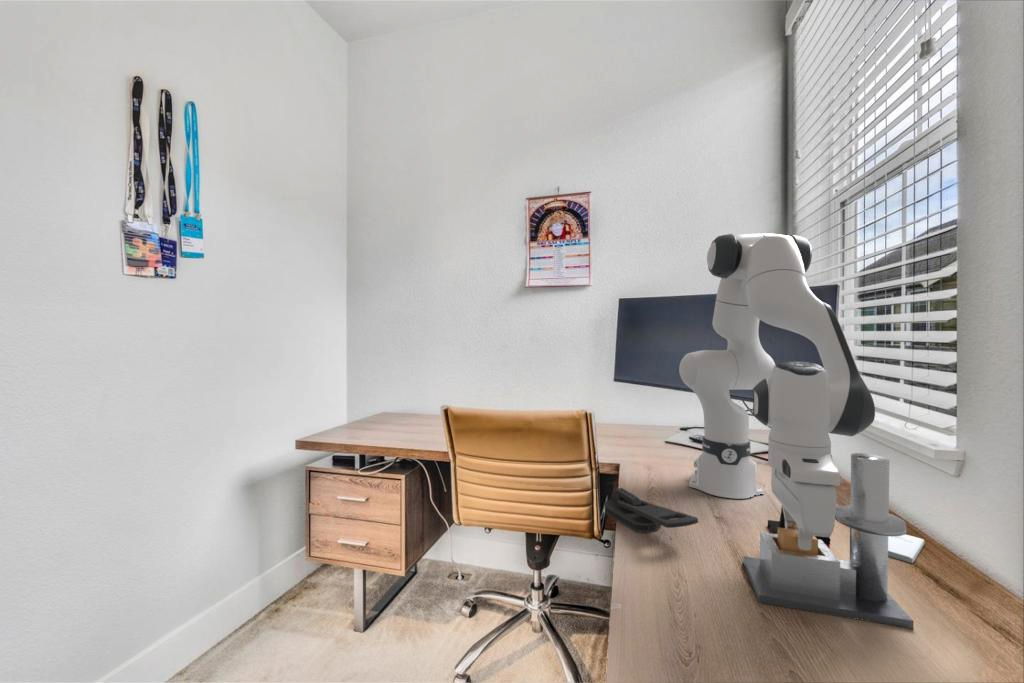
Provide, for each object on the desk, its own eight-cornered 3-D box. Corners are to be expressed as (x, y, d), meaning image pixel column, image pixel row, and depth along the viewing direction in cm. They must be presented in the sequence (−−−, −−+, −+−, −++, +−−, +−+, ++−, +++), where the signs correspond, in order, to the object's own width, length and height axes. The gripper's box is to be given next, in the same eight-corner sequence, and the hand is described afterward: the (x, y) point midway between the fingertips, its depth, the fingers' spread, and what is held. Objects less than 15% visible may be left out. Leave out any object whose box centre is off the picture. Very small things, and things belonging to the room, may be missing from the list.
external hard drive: (858, 549, 89) (873, 532, 96) (912, 566, 82) (924, 546, 90) (858, 541, 89) (874, 525, 96) (912, 557, 82) (924, 538, 90)
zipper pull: (665, 524, 84) (599, 482, 107) (665, 558, 84) (599, 509, 107) (703, 518, 86) (630, 479, 110) (703, 551, 86) (630, 505, 110)
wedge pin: (777, 573, 76) (777, 527, 76) (810, 578, 75) (810, 531, 75) (783, 583, 73) (783, 535, 73) (817, 589, 71) (818, 539, 71)
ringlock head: (743, 562, 82) (744, 440, 82) (881, 583, 75) (883, 449, 75) (759, 602, 70) (760, 458, 69) (926, 631, 63) (928, 471, 63)
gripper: (762, 442, 84) (761, 513, 85) (795, 474, 65) (794, 566, 65) (800, 445, 82) (799, 517, 83) (845, 478, 63) (844, 573, 63)
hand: (797, 539), depth 74 cm, fingers open, 5 cm apart
